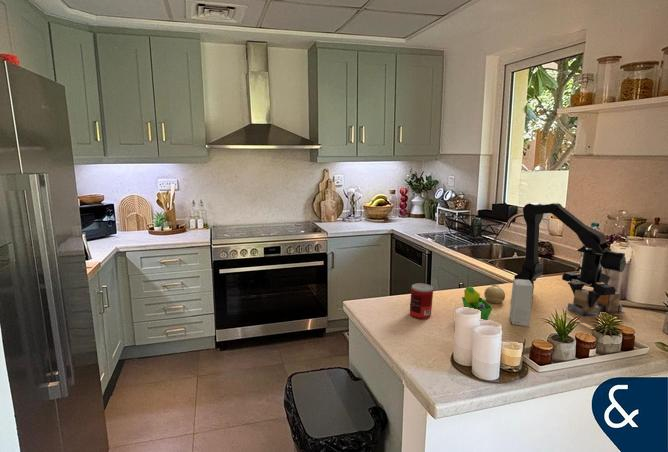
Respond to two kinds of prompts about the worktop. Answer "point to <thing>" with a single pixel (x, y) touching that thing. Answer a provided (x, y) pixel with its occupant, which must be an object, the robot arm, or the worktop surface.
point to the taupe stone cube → (609, 301)
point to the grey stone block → (583, 300)
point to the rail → (597, 311)
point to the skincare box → (521, 302)
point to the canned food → (421, 301)
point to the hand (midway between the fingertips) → (584, 304)
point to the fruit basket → (476, 302)
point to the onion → (494, 294)
